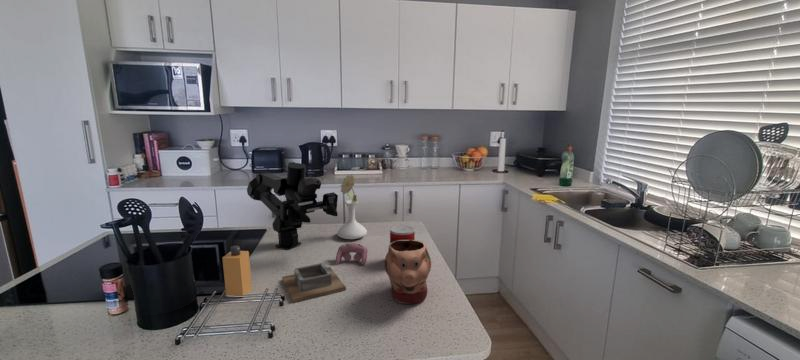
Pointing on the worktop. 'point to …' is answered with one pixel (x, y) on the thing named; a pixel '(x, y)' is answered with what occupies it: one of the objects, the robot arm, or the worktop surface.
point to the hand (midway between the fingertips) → (323, 217)
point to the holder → (312, 282)
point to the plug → (237, 272)
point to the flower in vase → (351, 212)
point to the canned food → (402, 233)
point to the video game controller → (352, 247)
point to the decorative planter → (408, 270)
